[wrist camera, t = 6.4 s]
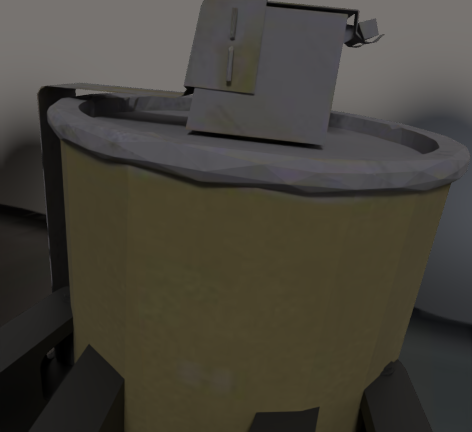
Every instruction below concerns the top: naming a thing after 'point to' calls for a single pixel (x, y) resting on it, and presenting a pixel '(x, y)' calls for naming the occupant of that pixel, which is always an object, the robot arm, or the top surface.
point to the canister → (242, 225)
